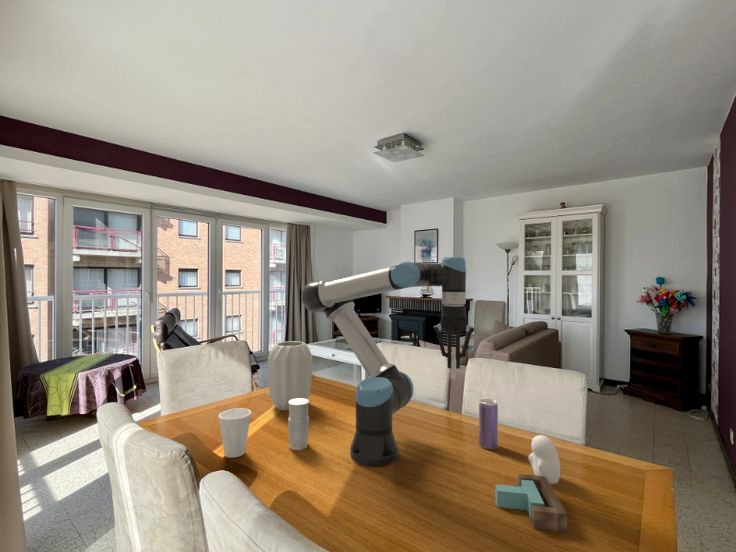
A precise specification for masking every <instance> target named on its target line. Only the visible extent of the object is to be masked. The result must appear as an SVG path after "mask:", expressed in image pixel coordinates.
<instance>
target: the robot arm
mask: <svg viewBox="0 0 736 552" xmlns="http://www.w3.org/2000/svg"><path fill="white" fill-rule="evenodd" d="M466 266H467V265H466V259H465V258H464V257H462V256H461V257H460V256H448V257H447V256H445V257H443V258H442V259H441V263H419V262H411V261H402V262H399V263H397V264H395V265H393V266H388V267H385V268H381V269H375V270H371V271H368V272H363V273H359V274H355V275H351V276H347V277H344V278H339V279H335V280H328V279H322V280H316V281H311V282H309V283H307V284H306V285H305V286H304V287H303V289H302V291H301V295H300V298H301V302H302V305H303V307H305V309H306V310H308V311H310V312H311V313H316V314H317V313H324V315H325V316H326V318H327V319H328V321H330V322H334V324H335V325H336V327H337V328H338V330H339V332H340V333H341V334H342V336H343V338H344V340H345V341H346V342H347V344H348V346H349V348H350V349H351V350H352V352H353V354H354V355H355V357H356V358H357V360H358V361H359V363H360V365H361V367H362V368H363V369H364V372H365V373H366V374H367V376H368V377H367V378H365V379H363V380H361V381H359V383H358V384H357V386H356V391H355V398H354V399H355V433H354V435H353V439H352V442H351V444H350V445H351V446H350V448H349V450H350V451H349V454H350V459H351V460H352V461H353V462H354V463H356V464H358V465H361V466H364V467H365V466H366V467H370V468H371V467H372V468H373V467H375V468H376V467H377V468H378V467H384V466H388V465H391V464H392V463H394V462H395V461H397V459H398V458H399V457H398V456H399V454H398V453H399V450H398V449H399V448H398V445H397V441H396V439H395V436H394V432H393V415H394V414H395V413H396V412H398V411H400V410H401V409H402V408H404V407H406V406H407V405H408V404H409V403H410V401H411V400H412V398H413V397H414V396H413V395H414V383H413V381H412V379H411V377H410V376H409V375H408V374H406V373H405V372H402V371H399V369H398V367H397V366H396V364H394V363H391V362H388V360H387V358H386V357H385V355H384V354H383V352H382V351H381V349H380V348H379V346H378V344H377V342H375V340H374V338H373V337H372V336H371V334H370V332H369V331H368V329H367V327H366V326H365V325H364V323H363V322H362V320H361V319H360V317H359V316H358V314H357V312H356V311H355V302H354V301H353V300H356V299H359V298H364V297H368V296H374V295H379V294H384V293H388V292H392V291H393V292H394V291H398V290H402V289H407V288H414V287H415V288H416V287H441V304H442V306H441V319H440V322H439V323H438V324H437V325H434V326H433V330H434V332H435V333H436V335H437V340H438V344H439V348H440V353H441V356H442V357H445V358H446V361H447V366H446V367H447V369H450V380H453V381H455V380H457V370H458V369H460V368H461V366H460V365H461V363H460V361H461V359H462V358H465V357H466V356H467V352H468V348H469V343H470V340H471V337H472V334H473V333H474V331H475V328H474V327H473V326H471V325H469V324H468V321H467V318H466V317H467V315H466V314H467V312H466V311H467V309H466V308H467V307H466V306H465V305H466V301H467V294H466V290H467V288H466V286H467V280H466V279H467V267H466ZM442 329H443V330H444V331H445V333H447V334H446V335H447V351H446V349H445V345H444V341H443V337H442V333H441V332H442ZM464 330H465V331H466V332H465V333H466V334H465V336H464V341H463V345H462V349H461V334H462V332H464ZM453 335H455V357H454V356H453V354H452V349H453V348H452V347H453V346H452V342H453V341H452V339H453V338H452V337H453ZM452 356H453V357H452Z"/></svg>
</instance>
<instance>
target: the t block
mask: <svg viewBox="0 0 736 552" xmlns="http://www.w3.org/2000/svg"><path fill="white" fill-rule="evenodd" d="M494 485H495V488H494V490H495V491H494V496H495V497H494V499H495V500H494V501H495V505H496V507H497V508H503V509H513V510H523V511H527V514H528V515H529V518H530V520H532V506H542V507H545V505H544V502H543V500H542V498H541V496H540V494H539V492H538V490H537V488H536V486H535V484H534V482H533V481H530V480H521V487H518V485H508V484H507V485H506V484H498V483H497V484H494Z"/></svg>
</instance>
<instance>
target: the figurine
mask: <svg viewBox="0 0 736 552" xmlns="http://www.w3.org/2000/svg"><path fill="white" fill-rule="evenodd" d="M530 447H531V450H532V452H531V453H529V455H528V461H529V463H530V465H531V468H532V471H533V473H534V475H535V476H545V477H546V478H547V480H548V482H549V483H550V485H556V484H558V483H559V481H560V478H561V463H560V458H559V456H558V455H559V454H558V452H557V448H556V446H555V444H554V442H553V441H552V440H551V438H549V437H548V436H546V435H543V434H540V435H536V436H533V438H532V440H531V445H530Z"/></svg>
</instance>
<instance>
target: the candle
mask: <svg viewBox="0 0 736 552" xmlns="http://www.w3.org/2000/svg"><path fill="white" fill-rule="evenodd" d="M309 403H310V400H309V398H308V399H305V398H296V399H292V400H290V401H289V412H288V413H289V415H288V419H287V421H288V422H287V426H288V429H287V431H288V443H289V444H290V445H289V448H290V449H291V450H293V451H302V450H305V449H307V447H308V443H307V442H308V441H309V439H310V438H309V430H310V427H309V426H310V420H309V419H310V417H309Z"/></svg>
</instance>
